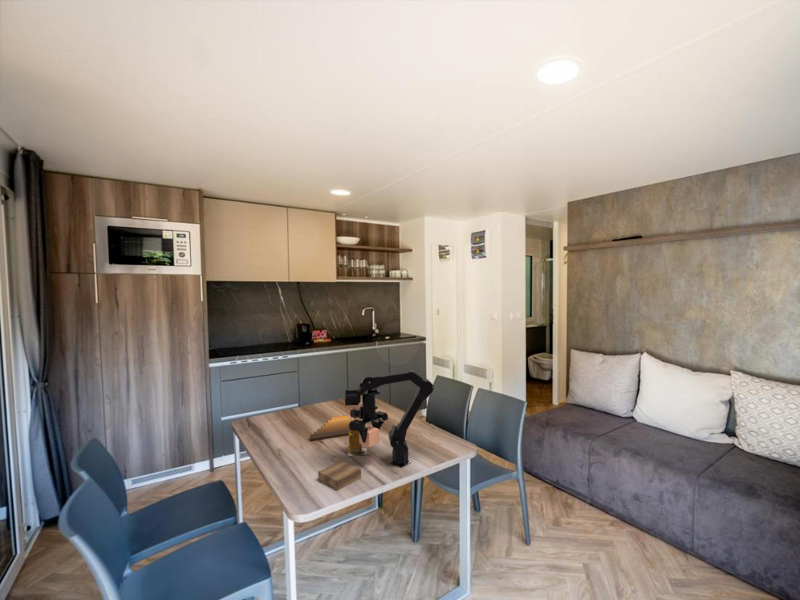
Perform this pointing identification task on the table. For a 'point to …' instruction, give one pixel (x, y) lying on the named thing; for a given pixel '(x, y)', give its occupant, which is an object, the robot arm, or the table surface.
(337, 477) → the walnut block
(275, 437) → the table surface
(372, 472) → the table surface
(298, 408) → the table surface
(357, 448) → the condiment
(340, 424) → the pan flute
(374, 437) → the terracotta cube
